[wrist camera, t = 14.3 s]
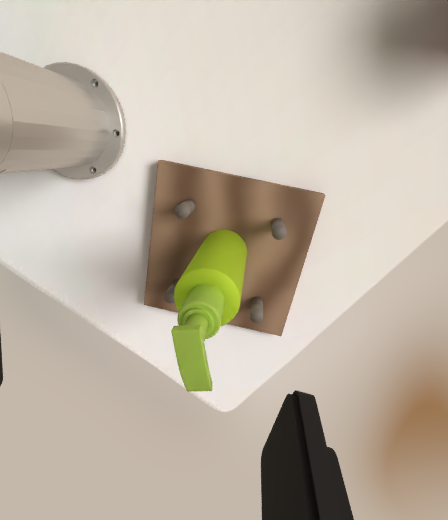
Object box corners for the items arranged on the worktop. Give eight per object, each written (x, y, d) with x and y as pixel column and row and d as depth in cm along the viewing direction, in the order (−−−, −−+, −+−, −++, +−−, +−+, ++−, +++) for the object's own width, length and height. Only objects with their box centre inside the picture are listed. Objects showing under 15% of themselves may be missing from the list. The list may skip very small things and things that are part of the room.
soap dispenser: (206, 281, 40) (158, 397, 21) (198, 232, 37) (135, 313, 19) (250, 277, 39) (240, 396, 20) (244, 227, 36) (226, 307, 18)
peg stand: (147, 299, 43) (132, 319, 38) (162, 160, 36) (146, 161, 31) (280, 330, 43) (283, 354, 38) (322, 193, 35) (333, 200, 30)
